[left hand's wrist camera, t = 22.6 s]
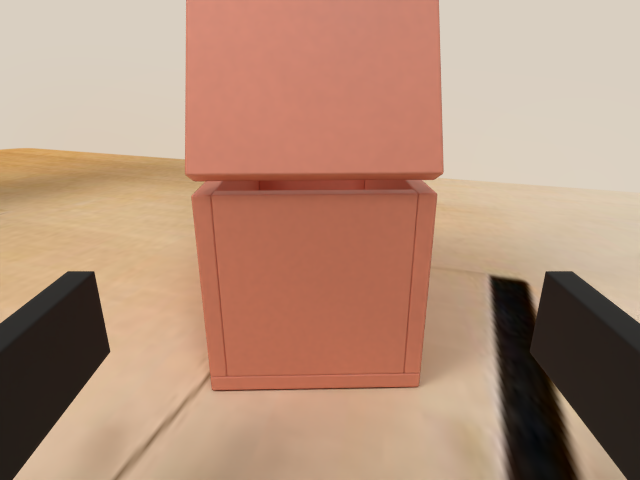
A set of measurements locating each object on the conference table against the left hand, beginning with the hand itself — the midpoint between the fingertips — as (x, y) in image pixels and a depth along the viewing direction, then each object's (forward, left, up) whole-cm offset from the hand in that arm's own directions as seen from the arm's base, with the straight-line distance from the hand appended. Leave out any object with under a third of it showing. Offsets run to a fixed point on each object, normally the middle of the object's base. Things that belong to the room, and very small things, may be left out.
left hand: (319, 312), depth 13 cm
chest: (+11, -7, -7) cm, 15 cm away
